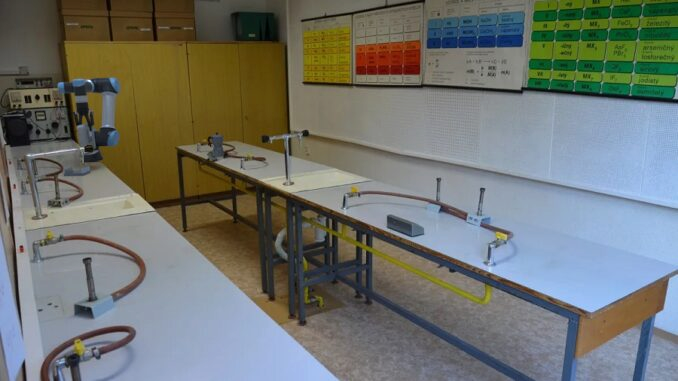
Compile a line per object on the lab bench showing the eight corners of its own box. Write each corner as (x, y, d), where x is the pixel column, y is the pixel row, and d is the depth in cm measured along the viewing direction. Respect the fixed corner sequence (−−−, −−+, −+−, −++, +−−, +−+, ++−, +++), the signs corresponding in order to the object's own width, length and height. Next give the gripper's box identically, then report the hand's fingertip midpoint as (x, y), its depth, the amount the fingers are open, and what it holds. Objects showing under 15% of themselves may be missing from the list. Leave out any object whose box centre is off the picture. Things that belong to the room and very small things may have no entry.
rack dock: (71, 172, 335) (70, 166, 334) (90, 172, 335) (89, 165, 334) (64, 176, 325) (63, 169, 324) (83, 175, 326) (82, 168, 324)
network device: (87, 151, 357) (83, 123, 353) (100, 150, 359) (96, 122, 355) (77, 155, 333) (73, 126, 329) (91, 155, 335) (87, 125, 331)
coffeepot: (222, 153, 398) (220, 131, 394) (229, 154, 392) (227, 131, 387) (205, 156, 387) (203, 133, 383) (212, 157, 381) (210, 134, 376)
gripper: (66, 102, 335) (71, 137, 340) (91, 102, 335) (96, 136, 340) (71, 102, 342) (76, 135, 347) (97, 101, 342) (101, 135, 347)
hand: (86, 136), depth 344 cm, fingers closed on network device, 4 cm apart
